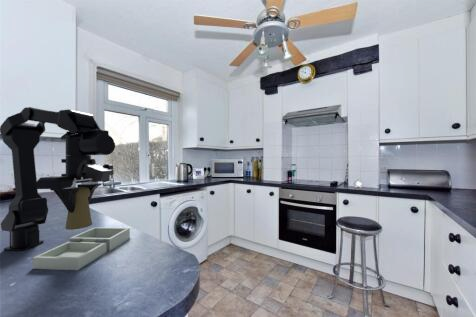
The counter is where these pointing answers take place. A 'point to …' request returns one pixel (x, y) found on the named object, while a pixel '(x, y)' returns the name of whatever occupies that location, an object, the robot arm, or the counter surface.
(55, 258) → the lid
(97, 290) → the counter surface
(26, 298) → the counter surface
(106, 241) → the case
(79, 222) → the cork
